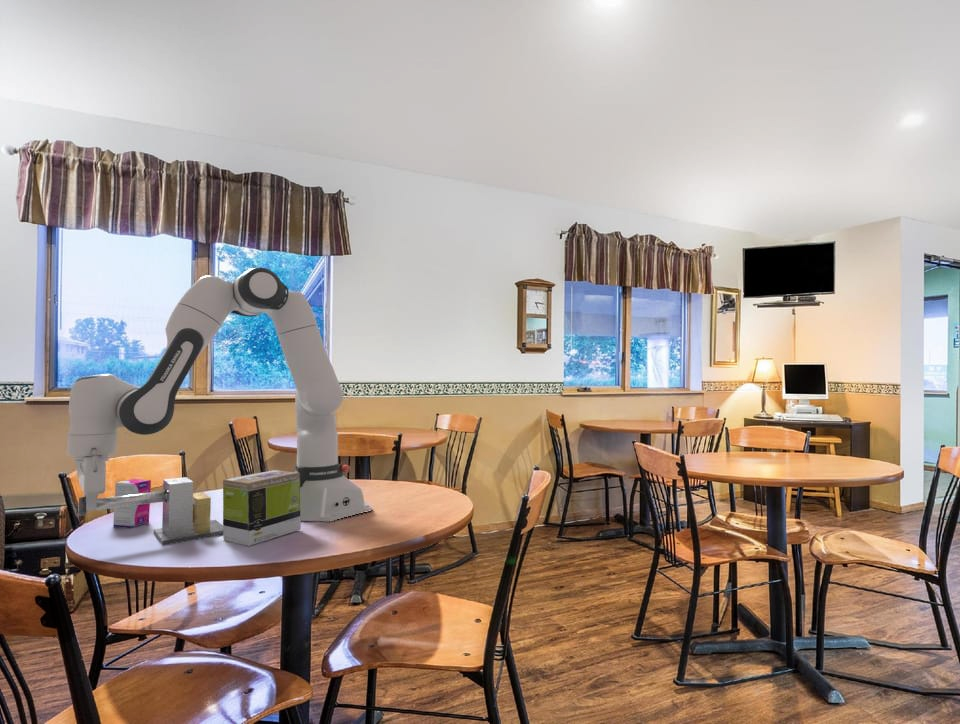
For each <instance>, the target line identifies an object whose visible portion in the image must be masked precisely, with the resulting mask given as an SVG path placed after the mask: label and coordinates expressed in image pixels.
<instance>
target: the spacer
mask: <svg viewBox="0 0 960 724" xmlns="http://www.w3.org/2000/svg"><path fill="white" fill-rule="evenodd" d="M211 499H212V497H211V496H209V495H207V494H206V493H204V492H203V491H201V492H195V493H194V492H193V525H192V529H193V530H194V531H195V532H196V533H198V532H204V531H210V521H211V504H212V503H211V501H212V500H211Z"/></svg>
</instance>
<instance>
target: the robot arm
mask: <svg viewBox="0 0 960 724" xmlns="http://www.w3.org/2000/svg"><path fill="white" fill-rule="evenodd" d="M264 313H265V314H266V315H267V316H268V317H269V318H270V319H271V320H272V321H271V322H273V325H274V327H275V331H276V335H277V337H278V340H279V343H280V347H281V348H280V349H281V350H282V353H283V356H284V359H285V363H286V364H287V367H288V369H289V372H290V374H291V377H292V380H293V382H294V384H295V388H296V390H295V393H294V394H295V397H294V398H295V399H294V402H295V407H294V408H295V424H296V427H295V428H296V437H297V438H296V439H297V440H296V464H295V466H294V472H296V473H300V518H301V522H302V521H303V522H326V523H327V522H329V521H330V522H334V520H335V521H338V520H337V519H339V520H342V519H341V518H343V519H345V518H344V517H347V518H349V517H348V516H351V515H355V514H358V513H361V512H365V511H369V510H371V509H372V510H373V507H372V506H371V504H369V503H367V502H365V499H364V493H363V490H362V488H361V487H359V486H358V485H357V484H355V483H354V482H353V481H351V480H350V479H348V478H347V477H346V476H345V475H344V473H349V472H350V471H351V466H349V464H341V463H339V461H338V460H339V459H338V458H339V456H338V455H339V451H338V450H339V445H338V444H339V442H338V441H339V435H338V430H337V429H338V428H337V422H336V412H337V411H338V409H339V408H340V407H341V405H342V402H343V397H344V394H343V390H342V388H341V386H340V383H339V380H338V377H337V375H336V372H335V370H334V368H333V365H332V363H331V361H330V358H329V356H328V353H327V351H326V349H325V345H324V341H323V338H322V335H321V332H320V328H319V326H318V325H319V324H318V322H317V319H316V315H315V314H314V311H313V309H312V307H311V305H310V303H309V301H308V299H307V297H306V296H305V294H304V293H302V292H300V291H297V290H289V288H288V287H287V285H285V284H284V283H283V282H282V280H281V278H280V277H279V276H278V275H277V274H276V273H275V272H274V271H272V270H271V269H268V268H265V267H260V266H259V267H252V268H248V269H247V270H246V271H244V272H243V273H241V274H240V275H239V276H237V278H236V279H235V280H233V281H226V280H224V279H223V278H221V277H218V276H215V275H203V276H202V277H200V278H198V279H197V280H196V281H195V282H194V283H193V284H192V285H191V286H190V287H189V289H188V290H186V292H185V293H184V294H183V296H182V297H181V298H180V300H179V301H178V303H177V304H176V306H175V307H174V309H173V310H172V312H171V314H170V317H169V318H168V321H167V324H166V326H165V330H164V331H165V334H166V341H167V343H166V347H165V351H164V353H163V355H162V357H161V358H160V360H159V362H158V363H157V365H156V367H155V368H154V369H153V372H152V373H151V374H150V376H149V378H148V380H147V381H146V382H145V383H144V384H143V385H142V386H141V387H140V386H137V385H134V384H133V383H129V382H127V381H124V380H122V379H121V378H119V377H117V376H116V375H115V374H113V373H112V374H111V373H101V374H94V375H93V374H92V375H88V376H83V377H79V378H78V379H76V380H75V381H74V382H73V383H72V386H71V388H70V389H71V390H70V394H69V400H68V401H69V402H68V417H69V420H70V421H69V422H70V425H69V429H68V430H67V431H68V432H67V447H66V448H67V450H66V455H67V456H68V457H73V458H74V459H73V463H74V464H76V474H77V479H78V483H79V485H80V487H81V490H82V492H83V495H84V496H83V497H86V510H87V512H93V511H94V510H95V511H97V510H96V507H97V499H99V498H98V497H99V495H102V494H104V493H105V492H106V485H107V484H106V483H107V482H106V479H107V477H106V476H107V473H106V471H107V470H106V469H107V467H106V466H107V464H106V462H109V460H110V455H112V454H116V453H117V442H118V441H117V440H118V439H117V438H118V436H117V435H118V429H119V428H122V427H123V428H125V429H127V430H128V431H130V432H131V433H134V434H137V435H142V436H147V435H154V434H156V433H159V432H160V431H162V430H163V429H166V427H167V426H169V424H170V423H171V421H172V419H173V416H174V412H175V402H176V398H177V394H178V392H179V390H180V388H181V386H182V384H183V382H184V380H185V379H186V378H187V375H188V374H189V372H190V370H191V368H192V367H193V365H194V363H195V362H196V360H197V358H198V357H199V356H200V355H201V354H202V352H203V351H204V350H205V349H206V348H207V346H208V345H209V344H210V343H211V342H212V341H213V339H214V338H215V336H216V335H217V333H218V332H219V330H220V329H221V327H222V325H223V324H224V322H225V320H226V318H227V317H228V316H229V315H230V314H235V315H239V316H242V317H249V318H251V317H257V316H259V315H261V314H264ZM95 511H94V512H95ZM355 516H356V515H355ZM351 517H352V516H351Z"/></svg>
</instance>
